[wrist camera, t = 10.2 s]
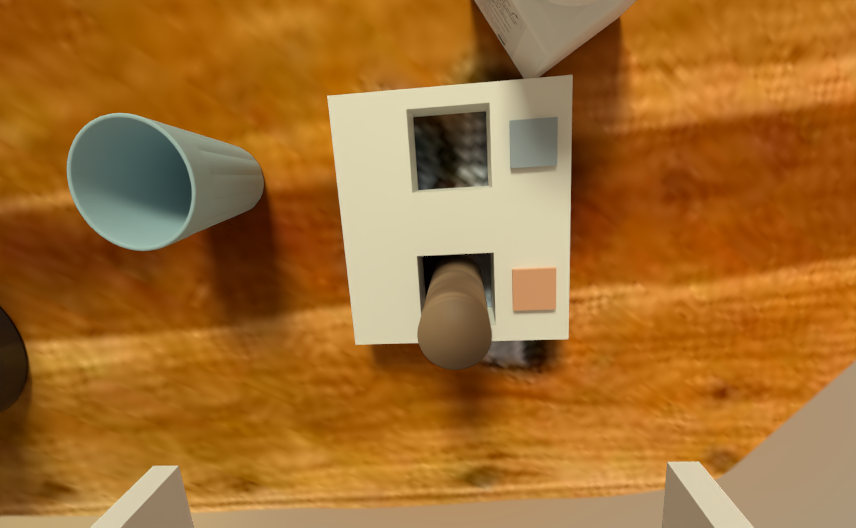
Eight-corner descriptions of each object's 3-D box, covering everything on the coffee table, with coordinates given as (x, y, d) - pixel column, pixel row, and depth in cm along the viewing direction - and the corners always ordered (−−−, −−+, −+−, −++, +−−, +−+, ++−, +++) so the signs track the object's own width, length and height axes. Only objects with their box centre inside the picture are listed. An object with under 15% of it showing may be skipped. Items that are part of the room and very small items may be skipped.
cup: (282, 140, 31) (197, 127, 21) (274, 234, 33) (192, 262, 23) (190, 122, 32) (64, 101, 22) (187, 216, 34) (69, 237, 24)
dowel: (434, 301, 34) (419, 370, 22) (431, 254, 33) (414, 301, 21) (481, 299, 33) (493, 369, 22) (480, 252, 32) (490, 298, 21)
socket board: (367, 325, 35) (354, 346, 30) (344, 105, 31) (325, 94, 26) (555, 319, 33) (569, 341, 29) (557, 87, 29) (574, 73, 25)
